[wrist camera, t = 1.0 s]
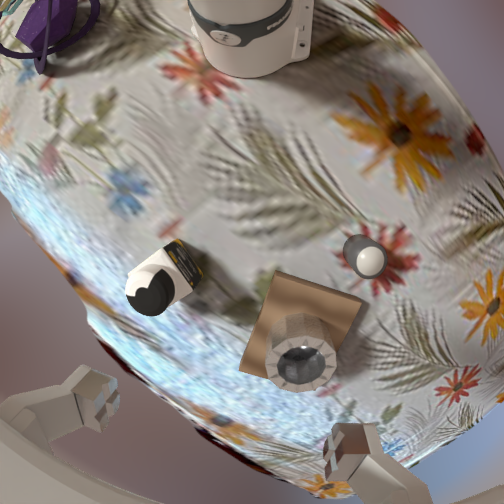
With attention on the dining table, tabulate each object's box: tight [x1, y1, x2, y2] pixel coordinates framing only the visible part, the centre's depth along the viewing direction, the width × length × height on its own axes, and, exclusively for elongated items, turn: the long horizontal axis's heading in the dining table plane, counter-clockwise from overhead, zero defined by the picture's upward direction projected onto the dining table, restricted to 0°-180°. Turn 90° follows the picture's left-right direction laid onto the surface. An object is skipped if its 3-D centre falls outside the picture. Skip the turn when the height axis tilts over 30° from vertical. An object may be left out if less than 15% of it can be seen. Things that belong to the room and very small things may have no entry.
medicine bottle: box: [125, 239, 203, 316], centre depth 39 cm, size 7×7×12 cm
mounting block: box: [239, 270, 362, 391], centre depth 45 cm, size 18×14×2 cm
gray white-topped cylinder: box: [343, 234, 387, 279], centre depth 40 cm, size 5×5×6 cm
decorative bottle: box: [0, 0, 100, 75], centre depth 23 cm, size 22×21×25 cm
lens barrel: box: [265, 312, 337, 393], centre depth 41 cm, size 10×10×7 cm
